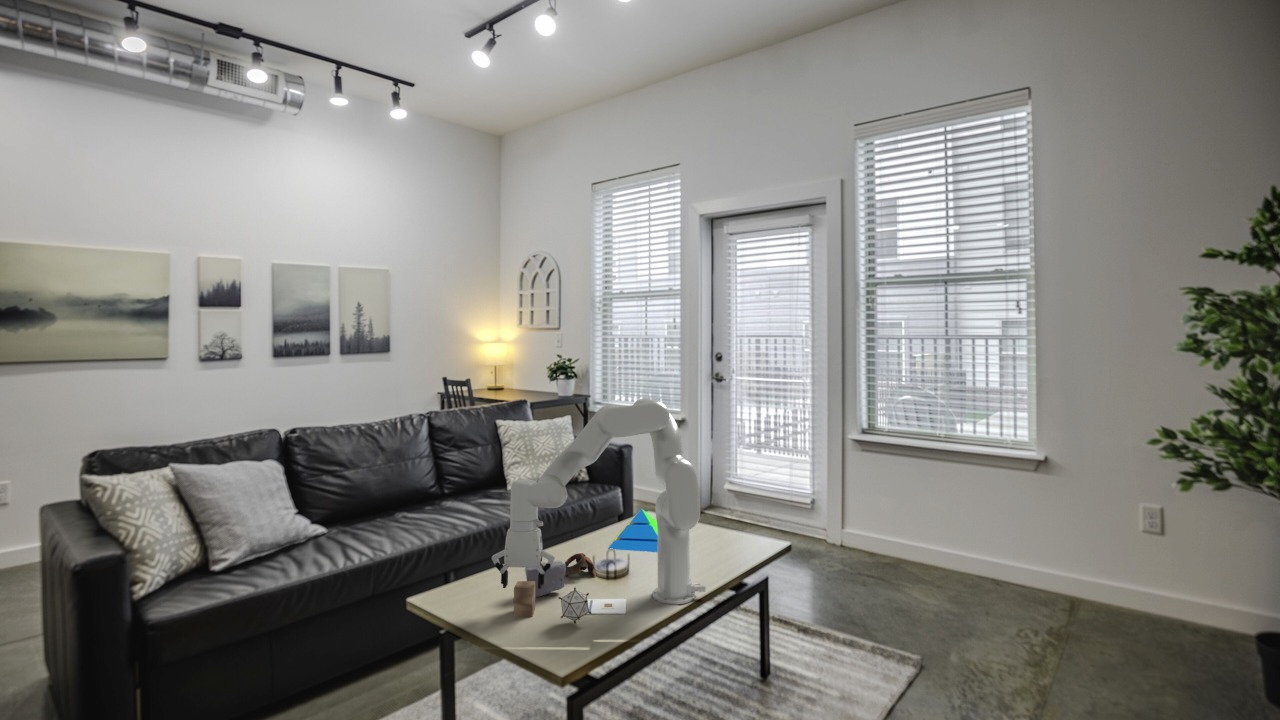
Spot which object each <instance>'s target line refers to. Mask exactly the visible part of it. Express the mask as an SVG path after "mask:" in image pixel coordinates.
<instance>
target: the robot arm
mask: <svg viewBox="0 0 1280 720" xmlns="http://www.w3.org/2000/svg"><path fill="white" fill-rule="evenodd" d="M644 434H649V435H650V437H651V442H652V448H653V457H654V460H653V461H654V470H655V472H654V473H655V477H656V479H657V481H658V482H659V483H660V484H661V485H663V486H664V487H665V490H664V491H662V492H661V493H660V494H659V495H658V497H656V498H657V499H656V502H655V507H654V508H655V509H654V510H655V520H656V521H657V534H658V544H657V548H658V552H657V587H656V588H654V589H653V590H652V598H653V600H655V601H656V602H659V603H661V604H667V605H684V604H687V603H690V602H692V601H693V600H694V599H695V597H696V592H698V593H706V584H701V583H700V582H694V583H693V582H692V581H691V578H690V569H691V568H690V544H691V543H690V542H691V541H690V540H691V539H690V537H691V536H690V530H691V529H693V528H694V527H695V526H696V525H697V524H698V522H699V520H700V517H701V500H700V491H699V482H698V481H699V480H698V475H697V471H696V469H695V466H694V465H693V464H692V463H691V462H690V461H689V460H688V459H686V458H685V457H684V452H683V451H684V450H683V446H682V445H683V444H682V437H681V432H680V428H679V426H678V424H677V421H676V420H675V418H674V417H673V416H672V414H671V413H670V410H669V409H668V407H667V406H666V404H664V402H661V401H659V400H654V399H650V398H640V399H638V400H636V401H635V402H634V403H633V404H630V405H624V406H616V405H612V404H607V405H604V406H602V407H600V408H599V409H598V410H597V411H596V412H595V414H594V415H593V416H592V417H591V418H590V420H589V421H588V423H586V425H585V426H584V427H583V429H582V430H581V431H580V432H579V434H577V436H576V437H575V438H574V440H573V441H572V442H571V443H570V444H569V445H568V446H567V447H566V448H565V449H564V450H563V451H562V452H561V453H560V454H559V455H558V456H557V457H556V458H555V459H554V460H553V461H552V462H551V464H550V465H548V467H547V468H546V470H545V471H544V472H543V473H542V475H540V478H539V479H538V481H536V480H534V479H528V478H527V479H523V478H522V479H517V480H514V481H512V483H511V486H510V511H509V512H510V516H509V517H510V518H509V520H510V521H509V522H510V523H509V528H508V529H507V532H506V537H505V546H504V549H503V550H501V551H499V552H497V553H495V554H493V555H492V556H491V561H492V562H493V564H494V567H495V568H496V569H497V570H498V571H499V573H500V574H501V575H500V577H501V578H500V584H501V585H502V589H506V588H507V586H508V584H509V583H508V582H509V571H508V569H509V568H526V567H528V568H533V567H536V569H537V570H538V571H539V574H538V588H539V589H541V587H542V585H544V574H545V572H546V571H547V570H548V569H549V568H550V566H551V565H552V563H553V562H554V561H555V558H556V557H555V556H554V555H552V554H551V553H549V552H547V551H545V550H543V538H542V537H543V536H542V530H541V528H539V527H543V526H544V522H543V521H542V520H539V508H547V509H556V508H560V507H562V506H563V505H564V504H565V503H566V502H567V499H568V491H567V487H566V485H567V484H568V483H569V482H570V480H571V479H572V478H573V477H574V476H575V475H576V474H577V473H578V472H579V471H580V470H582V469H584V468H585V467H588V466H591V465H592V464H594V463H595V462H596V461H597V460H598V459H599V458H600V456H601V454H602V453H604V451H605V450H606V448H607V447H608V446H609V445H610V444H611V442H612V441H613V439H614V438H625V437H632V436H638V435H644ZM502 557H504V558H503V562H504V563H503V564H502V563H501V561H500V559H501V558H502ZM543 559H546V560H547V562H546V563H547V564H546V565H545V566H544V565H543V564H542V563H541V562H543Z"/></svg>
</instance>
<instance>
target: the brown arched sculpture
mask: <svg viewBox="0 0 1280 720" xmlns="http://www.w3.org/2000/svg"><path fill="white" fill-rule="evenodd" d="M574 561H575V562H576V563H575V564H572V565H571V566H570V564H571V563H572V562H574ZM564 564H565V566H566V571H565V576H564V577H568V576H571V575H575V574H576V573H577V574H581V571H586V570H587V572H588V573H591V574H593V578H596V576H597V573H596V568H595V566H594V563H593V561H592V560H591V559H590V557H588V556H586V554H585V553H583V552H582V553H580V552H577V553H575V554H573V555H571V556H570V557H569V558H568V559H567V560H565V562H564Z"/></svg>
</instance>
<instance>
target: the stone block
mask: <svg viewBox="0 0 1280 720" xmlns="http://www.w3.org/2000/svg"><path fill="white" fill-rule="evenodd" d="M541 563H542V564H543V565H544V566H545V565H546V564H547V563H548V562H544V561H541ZM524 568H525V569H524V571H525V577H526V578H525V579H526V581H535V598H539V597H541V596H545V595H549V594H551V593H552V592H556V591H560V590H562V589H563V588H564V587H565V577H566V576H565V571H566V566H565V562H564V561H563V560H554V561H553V563H552V565H551V566H550V568H549V569H548V570H547V571H546V572H545V574H544V585H542V587H541V589H539V588H538V574H539V571H538V570H537V569H536V567H533V568H528V567H524Z"/></svg>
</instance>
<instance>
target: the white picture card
mask: <svg viewBox="0 0 1280 720" xmlns="http://www.w3.org/2000/svg"><path fill="white" fill-rule="evenodd" d="M587 600H588V608H589V612H591V613H592V614H590V613H587V614H586V615H626V614H627V613H626V612H627V598H587Z"/></svg>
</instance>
